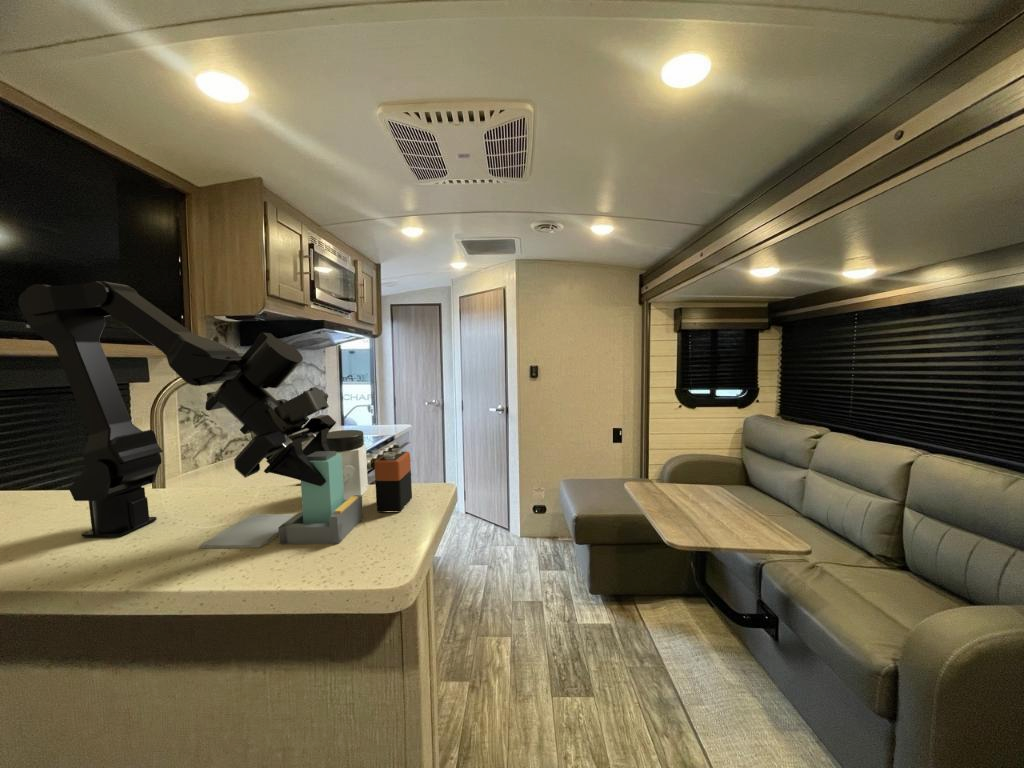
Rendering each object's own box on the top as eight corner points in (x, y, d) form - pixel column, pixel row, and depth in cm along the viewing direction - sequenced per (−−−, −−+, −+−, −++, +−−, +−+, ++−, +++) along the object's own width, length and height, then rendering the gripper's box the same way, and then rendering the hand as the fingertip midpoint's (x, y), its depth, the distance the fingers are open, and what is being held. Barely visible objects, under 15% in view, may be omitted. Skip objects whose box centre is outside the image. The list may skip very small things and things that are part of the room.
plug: (303, 525, 62) (299, 457, 61) (318, 514, 66) (314, 450, 65) (331, 525, 62) (328, 457, 61) (344, 514, 66) (341, 450, 65)
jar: (323, 505, 74) (319, 440, 73) (316, 493, 80) (312, 433, 79) (373, 495, 78) (370, 434, 77) (363, 484, 85) (360, 427, 84)
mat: (199, 547, 58) (199, 545, 58) (251, 516, 69) (250, 514, 69) (260, 547, 58) (260, 544, 58) (302, 516, 69) (302, 513, 69)
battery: (375, 513, 70) (372, 456, 69) (390, 498, 77) (387, 446, 76) (400, 513, 70) (397, 456, 69) (412, 498, 76) (410, 446, 75)
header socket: (279, 543, 59) (277, 515, 59) (311, 518, 68) (309, 493, 68) (338, 543, 59) (336, 514, 58) (363, 518, 68) (361, 493, 67)
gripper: (249, 376, 53) (337, 458, 53) (321, 369, 71) (386, 430, 72) (195, 436, 54) (282, 517, 54) (280, 413, 72) (345, 474, 73)
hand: (331, 478), depth 63 cm, fingers closed on plug, 4 cm apart
